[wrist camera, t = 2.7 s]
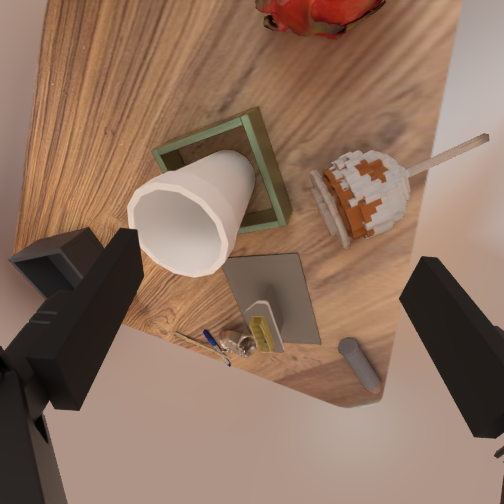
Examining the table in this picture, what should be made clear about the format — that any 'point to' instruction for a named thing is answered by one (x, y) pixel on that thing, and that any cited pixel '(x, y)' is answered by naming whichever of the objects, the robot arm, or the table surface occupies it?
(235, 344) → the ornament
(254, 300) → the platform
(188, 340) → the tool
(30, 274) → the dark grey square tray
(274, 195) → the olive square frame
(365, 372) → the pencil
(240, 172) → the foam cup
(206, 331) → the ballpoint pen
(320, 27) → the dragon fruit
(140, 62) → the table surface
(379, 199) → the caramel apple
